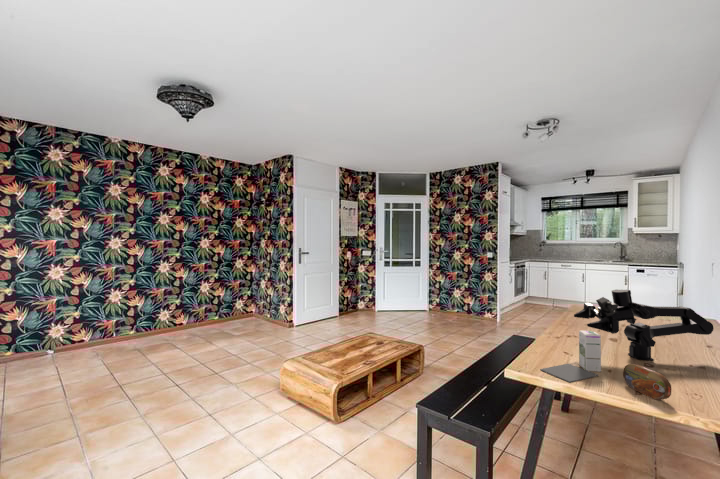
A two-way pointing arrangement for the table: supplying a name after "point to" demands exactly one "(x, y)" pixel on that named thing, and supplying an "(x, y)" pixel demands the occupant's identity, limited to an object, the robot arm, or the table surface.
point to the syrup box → (590, 350)
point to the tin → (647, 381)
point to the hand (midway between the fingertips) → (580, 320)
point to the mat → (569, 372)
